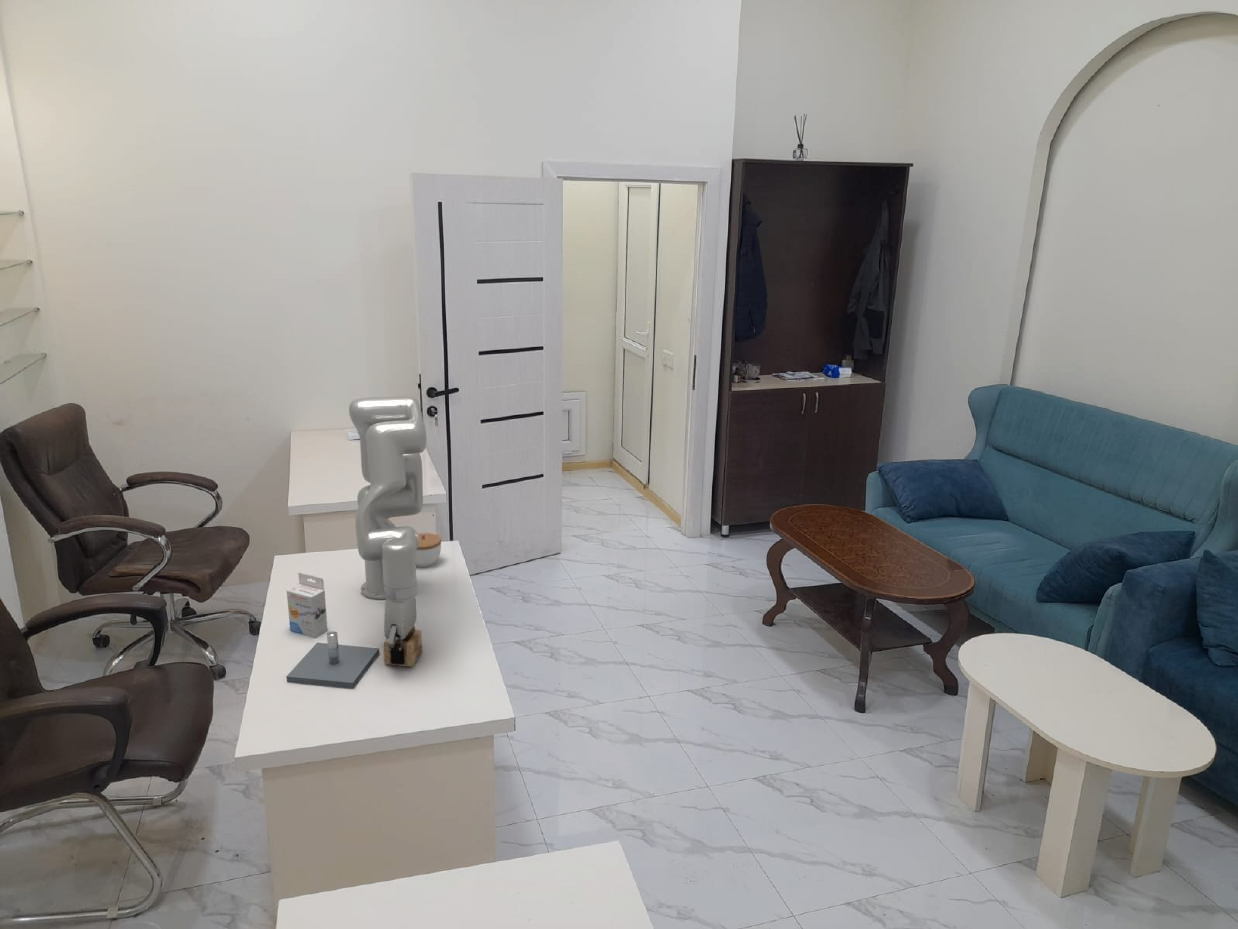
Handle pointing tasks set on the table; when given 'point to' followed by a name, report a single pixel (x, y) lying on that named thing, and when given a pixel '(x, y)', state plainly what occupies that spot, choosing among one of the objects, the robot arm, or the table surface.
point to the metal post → (333, 647)
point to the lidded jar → (427, 549)
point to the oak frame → (406, 648)
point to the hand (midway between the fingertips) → (403, 654)
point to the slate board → (333, 666)
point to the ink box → (307, 606)
